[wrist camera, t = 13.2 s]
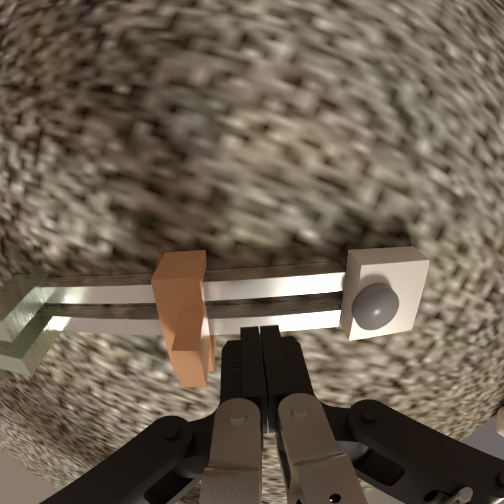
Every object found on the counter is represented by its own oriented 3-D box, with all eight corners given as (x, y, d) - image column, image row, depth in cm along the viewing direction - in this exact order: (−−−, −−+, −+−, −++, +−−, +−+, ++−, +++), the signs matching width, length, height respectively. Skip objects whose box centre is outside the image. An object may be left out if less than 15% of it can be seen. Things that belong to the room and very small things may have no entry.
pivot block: (412, 246, 14) (436, 264, 12) (398, 312, 16) (415, 336, 14) (344, 249, 14) (362, 271, 12) (335, 321, 16) (348, 348, 14)
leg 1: (338, 256, 14) (379, 312, 10) (336, 278, 15) (372, 339, 10) (17, 274, 14) (-29, 317, 9) (23, 292, 14) (-19, 337, 10)
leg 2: (333, 298, 15) (366, 361, 11) (331, 317, 16) (360, 381, 11) (27, 303, 15) (-12, 350, 10) (34, 320, 15) (-2, 367, 11)
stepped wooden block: (205, 249, 14) (191, 313, 9) (216, 335, 16) (211, 409, 11) (164, 252, 14) (133, 314, 9) (181, 336, 16) (166, 408, 11)
